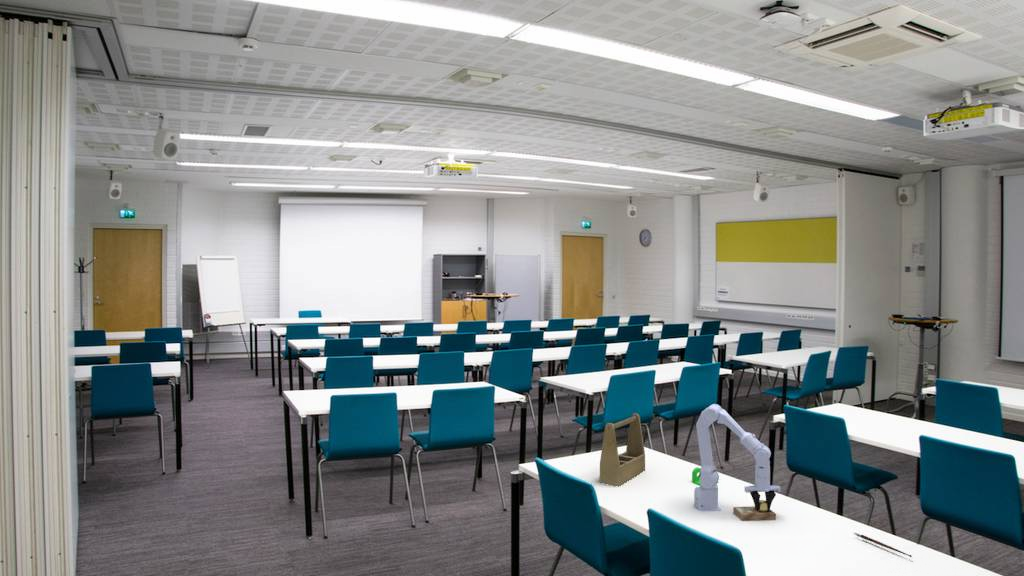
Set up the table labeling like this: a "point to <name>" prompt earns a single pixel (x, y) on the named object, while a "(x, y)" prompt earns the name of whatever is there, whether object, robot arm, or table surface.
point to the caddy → (627, 463)
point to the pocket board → (753, 514)
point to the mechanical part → (694, 476)
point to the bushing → (763, 506)
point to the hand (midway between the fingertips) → (762, 509)
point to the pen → (879, 543)
